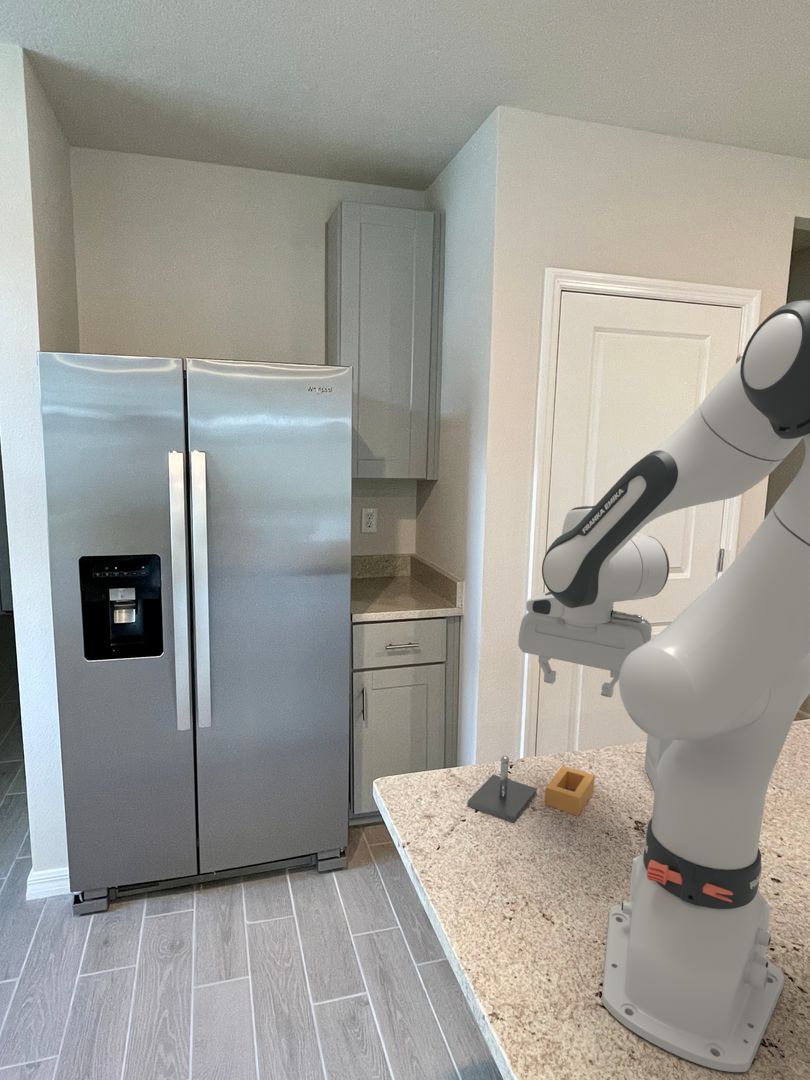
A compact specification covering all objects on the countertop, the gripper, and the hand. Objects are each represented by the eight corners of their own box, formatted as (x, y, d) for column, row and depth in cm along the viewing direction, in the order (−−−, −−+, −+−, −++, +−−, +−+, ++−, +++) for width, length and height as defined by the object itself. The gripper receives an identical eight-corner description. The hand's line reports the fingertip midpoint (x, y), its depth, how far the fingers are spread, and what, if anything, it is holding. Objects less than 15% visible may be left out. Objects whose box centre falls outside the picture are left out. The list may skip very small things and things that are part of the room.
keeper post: (513, 822, 99) (516, 776, 98) (467, 806, 103) (469, 761, 102) (536, 793, 108) (539, 751, 107) (492, 779, 112) (495, 738, 111)
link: (578, 815, 102) (579, 798, 101) (544, 804, 105) (545, 787, 104) (593, 791, 109) (594, 775, 109) (561, 781, 112) (562, 765, 111)
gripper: (656, 612, 99) (648, 697, 101) (531, 592, 110) (526, 669, 112) (648, 622, 94) (640, 711, 96) (517, 599, 104) (512, 680, 106)
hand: (577, 688), depth 104 cm, fingers open, 8 cm apart
